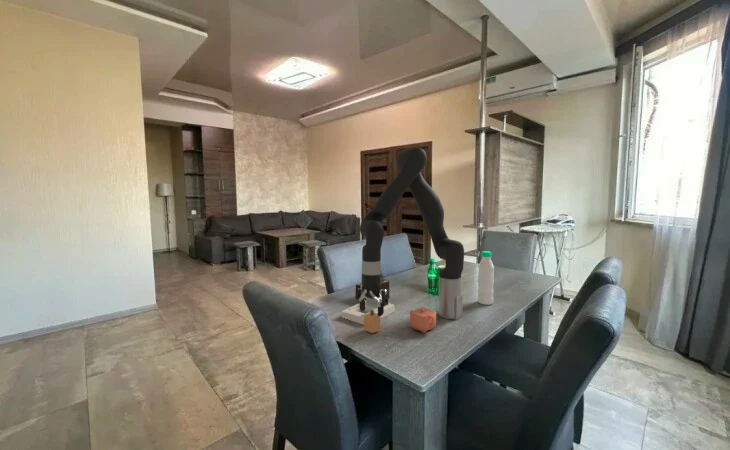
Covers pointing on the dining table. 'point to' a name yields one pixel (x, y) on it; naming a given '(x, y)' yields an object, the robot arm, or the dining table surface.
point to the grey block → (371, 302)
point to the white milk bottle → (485, 279)
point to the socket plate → (364, 312)
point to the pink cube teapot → (423, 319)
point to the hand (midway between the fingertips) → (371, 313)
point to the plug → (371, 322)
